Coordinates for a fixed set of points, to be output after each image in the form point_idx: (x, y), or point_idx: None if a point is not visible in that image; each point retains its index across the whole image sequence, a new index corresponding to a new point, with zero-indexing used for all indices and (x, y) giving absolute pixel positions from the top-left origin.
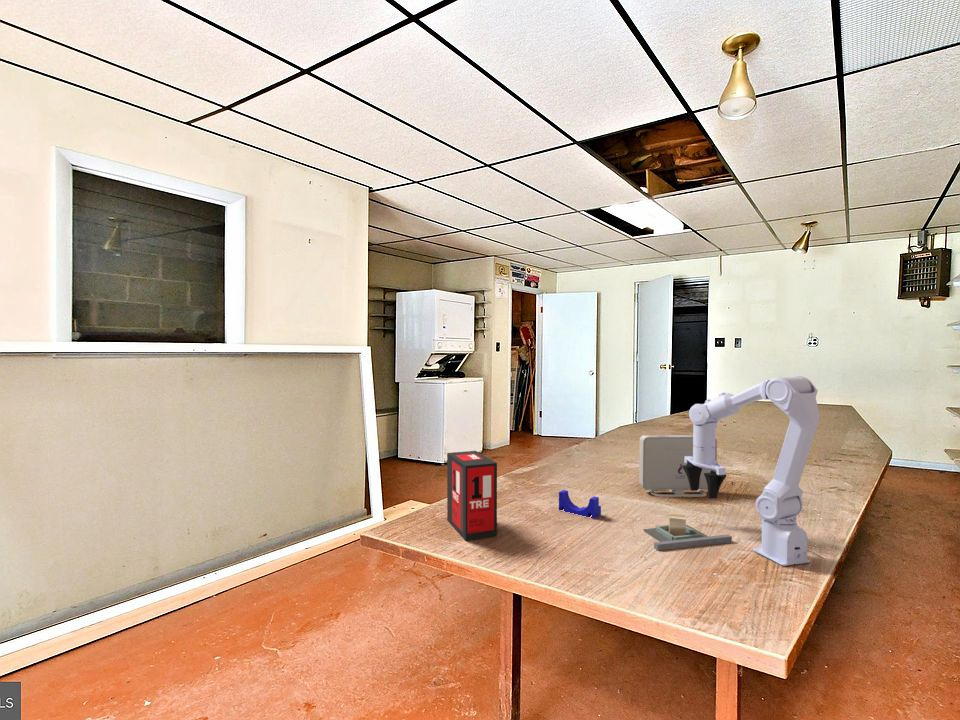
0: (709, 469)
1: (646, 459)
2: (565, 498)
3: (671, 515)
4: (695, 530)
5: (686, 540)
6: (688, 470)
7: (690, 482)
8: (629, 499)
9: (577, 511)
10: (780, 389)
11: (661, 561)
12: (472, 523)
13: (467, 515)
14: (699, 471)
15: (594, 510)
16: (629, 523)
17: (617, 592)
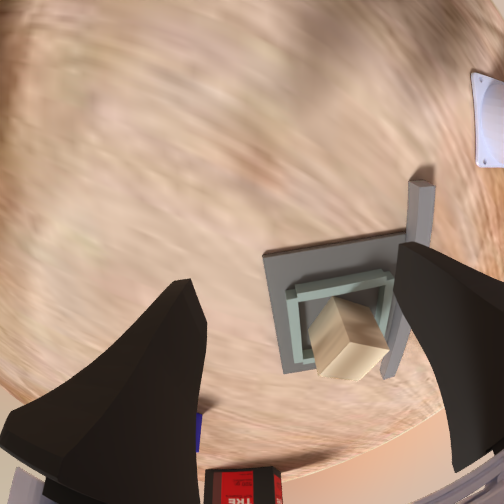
0: (475, 484)
1: None
2: None
3: (343, 375)
4: (323, 254)
5: (406, 326)
6: (196, 490)
7: (198, 383)
8: (35, 312)
9: None
10: None
11: (423, 365)
12: (280, 486)
13: (281, 494)
14: (130, 426)
15: (198, 430)
16: (227, 380)
17: (442, 400)
